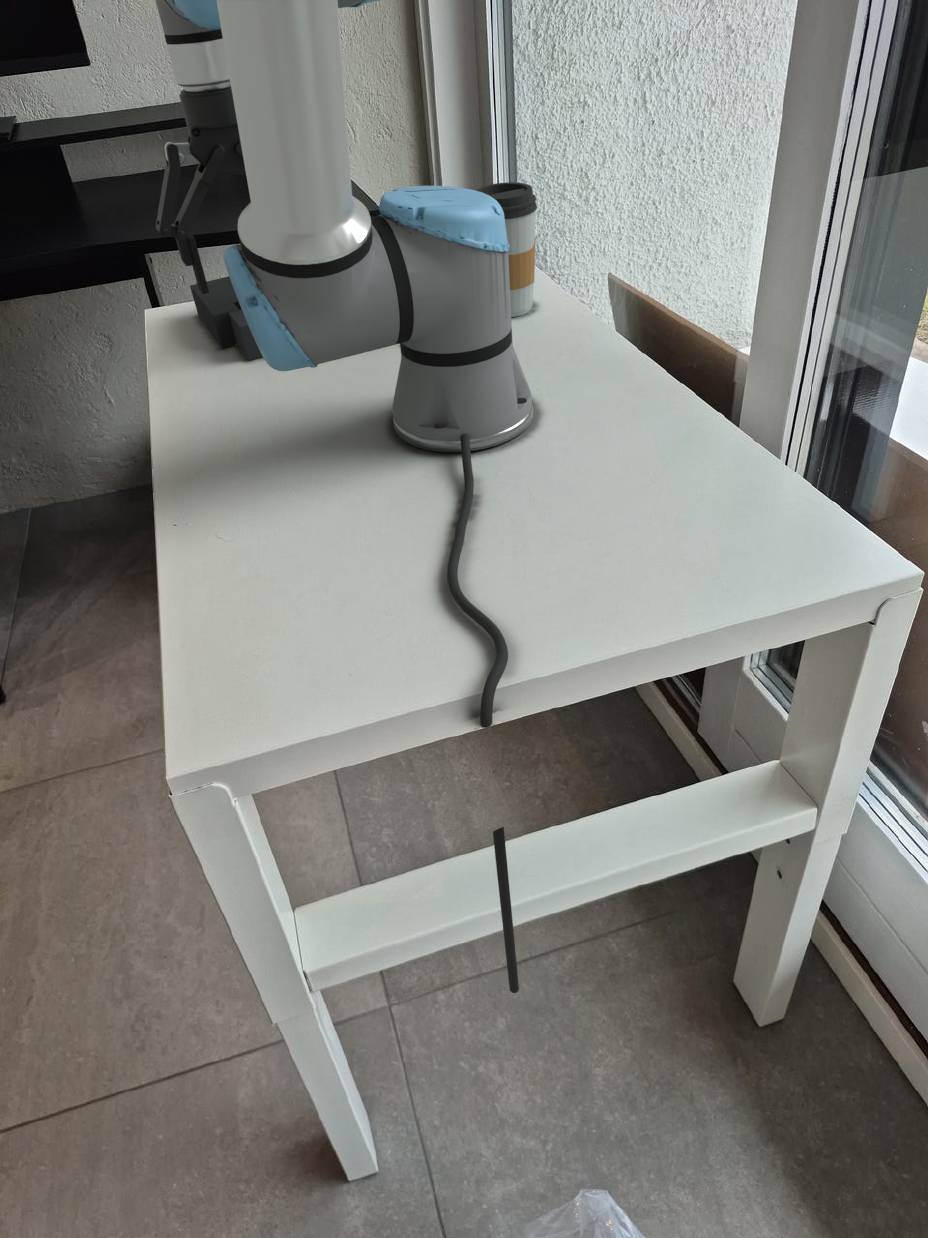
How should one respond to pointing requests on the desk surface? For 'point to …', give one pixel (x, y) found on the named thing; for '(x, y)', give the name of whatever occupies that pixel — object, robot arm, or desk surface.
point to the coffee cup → (518, 239)
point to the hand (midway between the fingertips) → (256, 278)
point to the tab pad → (244, 335)
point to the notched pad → (217, 309)
